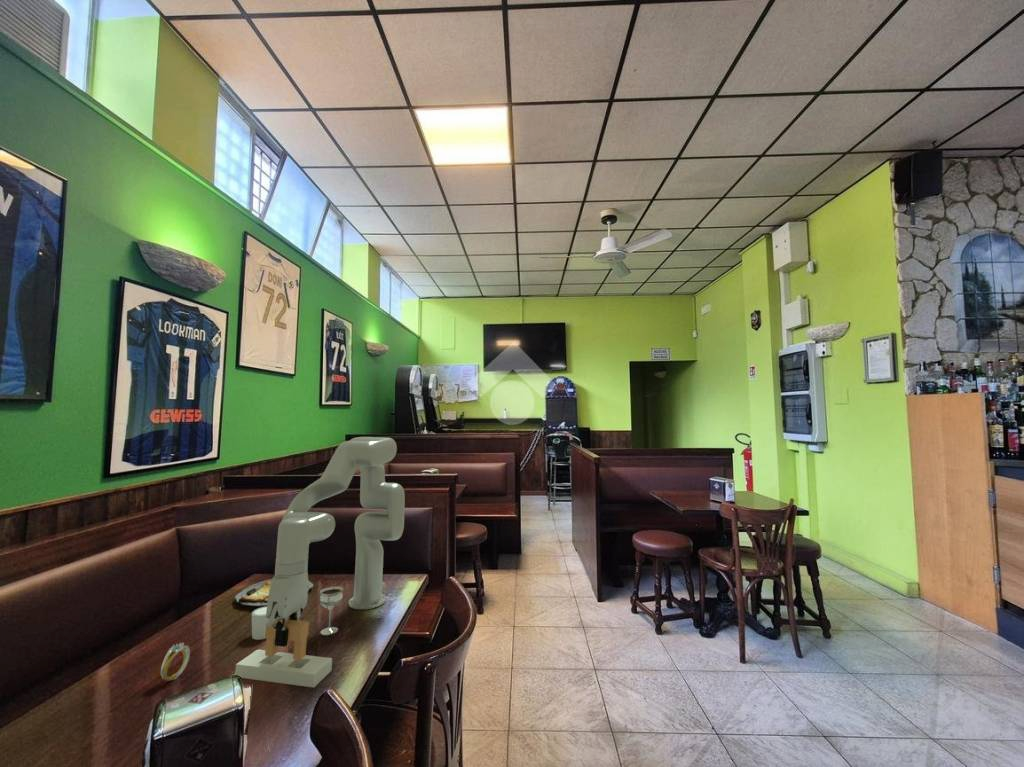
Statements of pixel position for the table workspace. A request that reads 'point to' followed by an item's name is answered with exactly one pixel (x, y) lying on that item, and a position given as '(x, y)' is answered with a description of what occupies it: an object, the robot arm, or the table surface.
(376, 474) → the robot arm
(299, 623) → the staple clip
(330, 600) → the wineglass
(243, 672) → the slotted rail
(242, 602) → the food plate
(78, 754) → the table surface
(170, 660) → the bracelet
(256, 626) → the white tapered cylinder
